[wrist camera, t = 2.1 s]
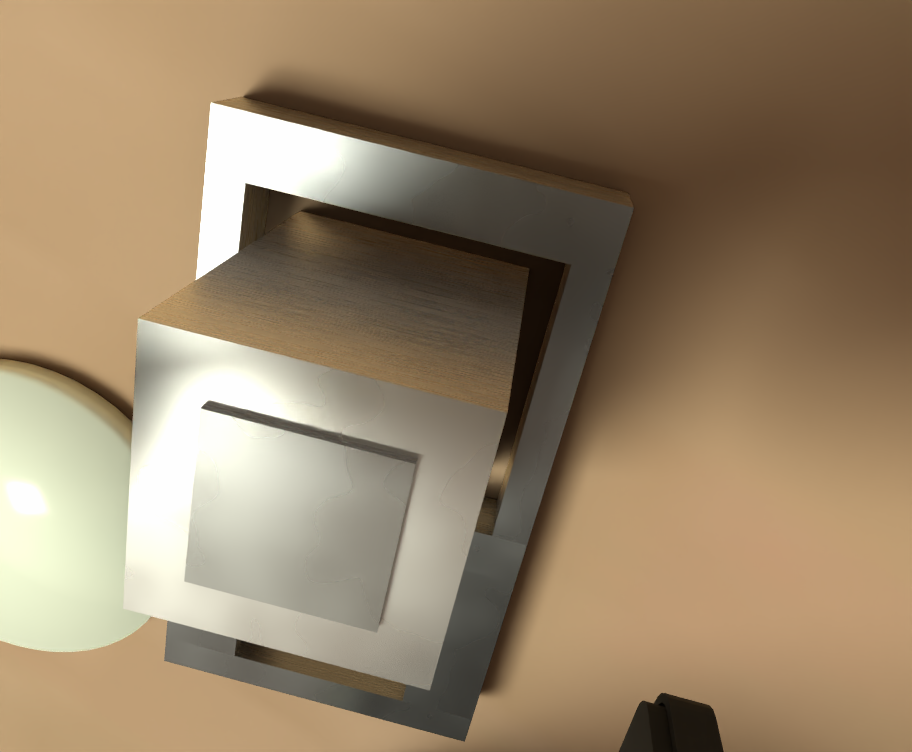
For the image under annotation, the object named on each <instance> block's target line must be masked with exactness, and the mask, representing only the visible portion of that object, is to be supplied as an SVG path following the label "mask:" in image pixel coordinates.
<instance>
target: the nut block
mask: <svg viewBox="0 0 912 752" xmlns="http://www.w3.org/2000/svg"><path fill="white" fill-rule="evenodd" d="M528 274H529V268H526V267H522V266H518V265H515V264H511V263H507V262H503V261H499V260H495V259H491V258H487V257H483V256H479V255H475V254H471V253H467V252H463V251H459V250H455V249H451V248H447V247H443V246H439V245H435V244H431V243H427V242H423V241H419V240H415V239H411V238H407V237H403V236H399V235H395V234H391V233H387V232H383V231H379V230H375V229H371V228H367V227H363V226H359V225H355V224H351V223H347V222H343V221H339V220H335V219H331V218H327V217H324V216H320V215H316V214H312V213H308V212H304V211H300V212H298V213H297V214H295V215H293V216H292V217H290V218H289V219H287V220H286V221H284V222H283V223H281V224H280V225H278V226H277V227H275V228H274V229H272V230H271V231H269V232H268V233H266V234H265V235H263V236H262V237H260V238H259V239H257V240H256V241H254V242H253V243H251V244H250V245H248V246H247V247H245V248H244V249H242V250H241V251H239V252H238V253H236V254H235V255H233V256H232V257H230V258H229V259H227V260H226V261H224V262H223V263H221V264H219V265H218V266H216V267H215V268H213V269H212V270H210V271H209V272H207V273H206V274H204V275H203V276H201V277H200V278H198V279H197V280H195V281H194V282H192V283H191V284H189V285H188V286H186V287H185V288H183V289H182V290H180V291H179V292H177V293H176V294H174V295H173V296H171V297H170V298H168V299H167V300H165V301H164V302H162V303H161V304H159V305H158V306H156V307H155V308H153V309H152V310H150V311H149V312H147V313H145V314H144V315H142V316H141V317H139V318H138V330H137V349H136V368H135V387H134V407H133V426H132V445H131V464H130V484H129V503H128V522H127V541H126V561H125V580H124V599H123V609H126V610H130V611H134V612H137V613H141V614H145V615H149V616H152V617H156V618H160V619H164V620H167V621H171V622H175V623H179V624H182V625H186V626H190V627H194V628H197V629H201V630H205V631H209V632H212V633H216V634H220V635H224V636H227V637H231V638H235V639H239V640H242V641H246V642H250V643H254V644H257V645H261V646H265V647H269V648H272V649H276V650H280V651H284V652H287V653H291V654H295V655H298V656H302V657H306V658H310V659H313V660H317V661H321V662H325V663H328V664H332V665H336V666H340V667H343V668H347V669H351V670H355V671H358V672H362V673H366V674H370V675H373V676H377V677H381V678H385V679H388V680H392V681H396V682H400V683H403V684H407V685H411V686H415V687H418V688H422V689H426V690H430V688H431V684H432V681H433V677H434V674H435V670H436V667H437V663H438V659H439V656H440V652H441V649H442V645H443V642H444V638H445V634H446V631H447V627H448V624H449V620H450V616H451V613H452V609H453V606H454V602H455V599H456V595H457V591H458V588H459V584H460V581H461V577H462V573H463V570H464V566H465V563H466V559H467V556H468V552H469V548H470V545H471V541H472V538H473V534H474V530H475V527H476V523H477V520H478V516H479V513H480V509H481V505H482V502H483V498H484V495H485V491H486V488H487V484H488V480H489V477H490V473H491V470H492V466H493V462H494V459H495V455H496V452H497V448H498V445H499V441H500V437H501V434H502V430H503V427H504V423H505V419H506V416H507V412H508V405H509V399H510V392H511V385H512V379H513V372H514V366H515V359H516V353H517V346H518V340H519V333H520V327H521V320H522V313H523V307H524V300H525V294H526V287H527V281H528Z"/></svg>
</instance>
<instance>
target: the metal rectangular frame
mask: <svg viewBox="0 0 912 752" xmlns="http://www.w3.org/2000/svg"><path fill="white" fill-rule="evenodd" d="M270 189H272V190H276V191H280V192H284V193H288V194H292V195H296V196H300V197H304V198H308V199H312V200H316V201H320V202H324V203H328V204H332V205H336V206H340V207H344V208H348V209H352V210H356V211H360V212H364V213H368V214H372V215H376V216H380V217H384V218H388V219H392V220H396V221H400V222H404V223H408V224H412V225H416V226H420V227H424V228H428V229H432V230H435V231H439V232H443V233H447V234H451V235H455V236H459V237H463V238H467V239H471V240H475V241H479V242H483V243H487V244H491V245H495V246H499V247H503V248H507V249H511V250H515V251H519V252H523V253H527V254H531V255H535V256H539V257H543V258H547V259H551V260H555V261H559V262H563V263H566V264H565V268H564V271H563V275H562V278H561V282H560V285H559V288H558V292H557V295H556V299H555V302H554V306H553V309H552V313H551V316H550V320H549V323H548V326H547V330H546V333H545V337H544V340H543V344H542V347H541V351H540V354H539V358H538V361H537V365H536V368H535V371H534V375H533V378H532V382H531V385H530V389H529V392H528V396H527V399H526V403H525V406H524V409H523V413H522V416H521V420H520V423H519V427H518V430H517V434H516V437H515V441H514V444H513V448H512V451H511V454H510V458H509V461H508V465H507V468H506V472H505V475H504V479H503V482H502V486H501V489H500V492H499V496H498V499H497V500H496V499H492V498H488V497H484V498H483V502H482V505H481V509H480V513H479V516H478V520H477V523H476V527H475V530H474V534H473V538H472V541H471V545H470V548H469V552H468V556H467V559H466V563H465V566H464V570H463V573H462V577H461V581H460V584H459V588H458V591H457V595H456V599H455V602H454V606H453V609H452V613H451V616H450V620H449V624H448V627H447V631H446V634H445V638H444V642H443V645H442V649H441V652H440V656H439V659H438V663H437V667H436V670H435V674H434V677H433V681H432V684H431V688H430V690H426V689H422V688H418V687H415V686H411V685H407V684H403V683H400V682H396V681H392V680H388V679H385V678H381V677H377V676H373V675H370V674H366V673H362V672H358V671H355V670H351V669H347V668H343V667H340V666H336V665H332V664H328V663H325V662H321V661H317V660H313V659H310V658H306V657H302V656H298V655H295V654H291V653H287V652H284V651H280V650H276V649H272V648H269V647H265V646H261V645H257V644H254V643H250V642H246V641H242V640H239V639H235V638H231V637H227V636H224V635H220V634H216V633H212V632H209V631H205V630H201V629H197V628H194V627H190V626H186V625H182V624H179V623H175V622H171V621H168V623H167V635H166V647H165V659H164V661H167V662H171V663H175V664H179V665H182V666H186V667H190V668H193V669H197V670H201V671H204V672H208V673H212V674H216V675H219V676H223V677H227V678H230V679H234V680H238V681H242V682H245V683H249V684H253V685H256V686H260V687H264V688H268V689H271V690H275V691H279V692H282V693H286V694H290V695H294V696H297V697H301V698H305V699H308V700H312V701H316V702H320V703H323V704H327V705H331V706H334V707H338V708H342V709H345V710H349V711H353V712H357V713H360V714H364V715H368V716H371V717H375V718H379V719H383V720H386V721H390V722H394V723H397V724H401V725H405V726H409V727H412V728H416V729H420V730H423V731H427V732H431V733H435V734H438V735H442V736H446V737H449V738H453V739H457V740H461V741H464V742H465V739H466V736H467V733H468V729H469V726H470V723H471V720H472V717H473V714H474V711H475V707H476V704H477V701H478V698H479V695H480V692H481V688H482V685H483V682H484V679H485V676H486V673H487V670H488V666H489V663H490V660H491V657H492V654H493V651H494V648H495V644H496V641H497V638H498V635H499V632H500V629H501V625H502V622H503V619H504V616H505V613H506V610H507V607H508V603H509V600H510V597H511V594H512V591H513V588H514V585H515V581H516V578H517V575H518V572H519V569H520V566H521V563H522V559H523V556H524V553H525V550H526V547H527V544H528V540H529V537H530V534H531V531H532V528H533V525H534V522H535V518H536V515H537V512H538V509H539V506H540V503H541V500H542V496H543V493H544V490H545V487H546V484H547V481H548V477H549V474H550V471H551V468H552V465H553V462H554V459H555V455H556V452H557V449H558V446H559V443H560V440H561V437H562V433H563V430H564V427H565V424H566V421H567V418H568V414H569V411H570V408H571V405H572V402H573V399H574V396H575V392H576V389H577V386H578V383H579V380H580V377H581V374H582V370H583V367H584V364H585V361H586V358H587V355H588V351H589V348H590V345H591V342H592V339H593V336H594V333H595V329H596V326H597V323H598V320H599V317H600V314H601V311H602V307H603V304H604V301H605V298H606V295H607V292H608V289H609V285H610V282H611V279H612V276H613V273H614V270H615V266H616V263H617V260H618V257H619V254H620V251H621V248H622V244H623V241H624V238H625V235H626V232H627V229H628V226H629V222H630V219H631V216H632V213H633V210H634V206H633V204H632V201H631V199H630V196H629V194H628V193H627V192H623V191H619V190H615V189H611V188H607V187H603V186H599V185H595V184H591V183H587V182H583V181H579V180H575V179H571V178H567V177H563V176H559V175H554V174H550V173H546V172H542V171H538V170H534V169H530V168H526V167H522V166H518V165H514V164H510V163H506V162H502V161H498V160H494V159H490V158H486V157H482V156H478V155H474V154H470V153H466V152H462V151H458V150H454V149H450V148H446V147H442V146H438V145H434V144H430V143H426V142H422V141H418V140H414V139H410V138H405V137H401V136H397V135H393V134H389V133H385V132H381V131H377V130H373V129H369V128H365V127H361V126H357V125H353V124H349V123H345V122H341V121H337V120H333V119H329V118H325V117H321V116H317V115H313V114H309V113H305V112H301V111H297V110H293V109H289V108H285V107H281V106H277V105H273V104H269V103H265V102H261V101H256V100H252V99H248V98H244V97H238V98H233V99H227V100H222V101H217V102H212V103H211V109H210V121H209V133H208V145H207V156H206V168H205V180H204V192H203V204H202V216H201V228H200V240H199V252H198V264H197V276H196V280H197V279H198V278H200V277H201V276H203V275H204V274H206V273H207V272H209V271H210V270H212V269H213V268H215V267H216V266H218V265H219V264H221V263H223V262H224V261H226V260H227V259H229V258H230V257H232V256H233V255H235V254H236V253H238V252H239V251H241V250H242V249H244V248H245V247H247V246H248V245H250V244H251V243H253V242H254V241H256V240H257V239H259V238H260V237H262V236H263V235H264V234H265V226H266V217H267V209H268V201H269V192H270Z"/></svg>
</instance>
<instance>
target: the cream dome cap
mask: <svg viewBox="0 0 912 752" xmlns="http://www.w3.org/2000/svg"><path fill="white" fill-rule="evenodd" d="M132 426H133V422H132V421H131V420H129V419H128V418H127V417H126V416H125V415H124V414H123V413H122V412H120V411H119V410H118V409H117V408H116V407H115V406H114V405H112V404H111V403H109V402H108V401H107V400H105V399H104V398H102V397H101V396H100V395H98V394H97V393H96V392H94V391H92V390H90V389H89V388H87V387H85V386H84V385H82V384H80V383H78V382H77V381H75V380H73V379H70V378H68V377H66V376H64V375H61V374H59V373H57V372H55V371H52V370H49V369H46V368H43V367H40V366H37V365H33V364H29V363H24V362H19V361H14V360H8V359H0V640H1V641H4V642H7V643H10V644H13V645H17V646H21V647H26V648H30V649H35V650H43V651H52V652H76V651H85V650H91V649H96V648H100V647H104V646H107V645H110V644H112V643H115V642H117V641H120V640H122V639H123V638H125V637H127V636H128V635H130V634H132V633H133V632H135V631H136V630H137V629H139V628H140V627H141V626H142V625H143V624H144V623H146V622H147V621H148V619H149V618H150V617H151V616H149V615H145V614H141V613H137V612H134V611H130V610H126V609H123V599H124V580H125V561H126V541H127V522H128V503H129V484H130V464H131V445H132Z"/></svg>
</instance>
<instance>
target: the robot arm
mask: <svg viewBox="0 0 912 752" xmlns="http://www.w3.org/2000/svg"><path fill="white" fill-rule="evenodd" d="M619 752H723V747H722V743H721V738H720V734H719V730H718V725H717V721H716V717H715V714H714V711H713V709H712V708H711V707H710V706H709V705H706V704H702V703H699V702H695V701H691V700H688V699H684V698H680V697H677V696H673V695H669V694H666V693H661V694H660V695H659V696H658V697H657V699H656V701H655V703H654V704H653V703H649V702H646V701H642V702H641V703H640V704H639V706H638V708H637V710H636V712H635V715H634V717H633V720H632V722H631V724H630V727H629V729H628V731H627V734H626V736H625V739H624V741H623V743H622V746H621V748H620V750H619Z"/></svg>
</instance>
